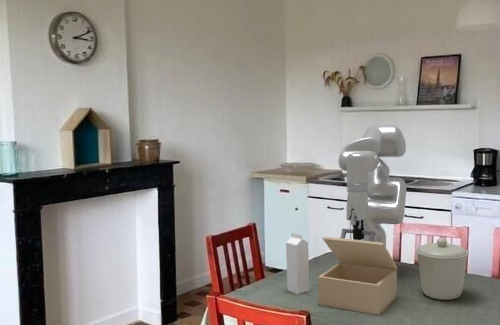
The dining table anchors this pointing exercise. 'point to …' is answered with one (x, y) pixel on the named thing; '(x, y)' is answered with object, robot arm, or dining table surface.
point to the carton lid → (360, 250)
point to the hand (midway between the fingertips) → (358, 238)
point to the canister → (442, 269)
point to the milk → (297, 264)
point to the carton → (357, 287)
